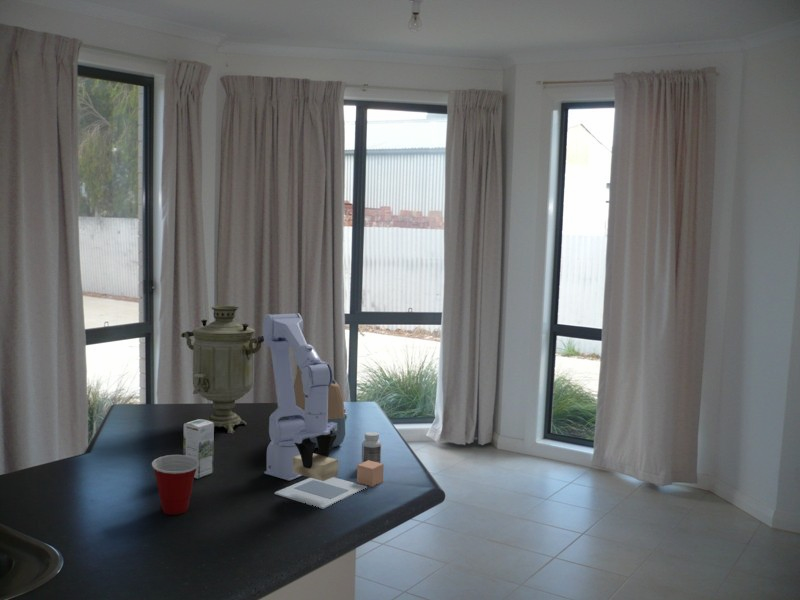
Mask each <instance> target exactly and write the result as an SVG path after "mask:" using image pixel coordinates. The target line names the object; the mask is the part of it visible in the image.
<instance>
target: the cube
mask: <svg viewBox="0 0 800 600" xmlns="http://www.w3.org/2000/svg"><path fill="white" fill-rule="evenodd" d="M356 469H357V471H356V483H357V482H358V483H357V484H360V483H362V484H361V485H363V484H366V485H365V486H367V485H369V486H368V487H371V486H373V487H375V486H377V485H379V484H381V483H383V482H384V463H378V462H374V461H370V460H368V461H365V462H363V463H362V462H361V463H359V464H357V467H356ZM376 484H377V485H376ZM374 485H375V486H374Z"/></svg>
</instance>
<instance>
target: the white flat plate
mask: <svg viewBox="0 0 800 600" xmlns="http://www.w3.org/2000/svg"><path fill="white" fill-rule="evenodd" d="M365 488H366V489H368V486H367V485H363V484H360V483H357V482H352V481H348V480H346V479H342V478H338V477H336V476H334V477H332V478H330V479H328V480H325V481H321V480H317V479H314V478H310V477H307V478H306V479H304V480H301V481H299V482H296V483H294V484H292V485H289V486H287V487H284V488H282V489H278V490H277V491H275V492H274V495H276V496H280V497H283V498H286V499H290V500H292V501H295V502H300V503H303V504H305V503H306V505H309V506H312V505H313V506H312V507H315V506H316V507H315V508H318V507H319V509H322V510H324V509H326V508H328V507H330V506H332V504H333V505H334V503H335V504H336V502H337V503H338V501H339V502H341V501H343V500H345V499H347V498H349V497H351V496H353V494H354V495H355V493H356V494H357V492H358V493H359V491H360V492H362V491H364V490H366V489H365ZM363 489H364V490H363ZM361 490H362V491H361ZM340 500H341V501H340Z"/></svg>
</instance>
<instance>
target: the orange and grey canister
mask: <svg viewBox="0 0 800 600" xmlns="http://www.w3.org/2000/svg"><path fill="white" fill-rule="evenodd" d="M301 374H302V372H301V370H300V368H299V367H298V370H297V373H296V377H295V379H294V382H293V386H294V394H295V401H296V406H297V407H299V408H300V409H302V410H303V411H305V394H304V393H303V383H302V379H301ZM290 418H295V417H288V419H290ZM330 422H333V423H337V431H332V433H335V434H336V439H335V441H334V442H333V444H332V447H331V449H333V448H336V447H338V446H340V445H342V444H343V442H344V440H345V437H346V416H345V405H344V395H343V392H342V390H341V387H340V385H339V384H338V381H336V380H335V379H334V378H333V380H332V384H331V385H330V386H328V422H327V423H330ZM310 440H311V442H314V443H316V446H315V448H318V443H317V438H316V437H313V438H311V439H310Z"/></svg>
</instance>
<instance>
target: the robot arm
mask: <svg viewBox="0 0 800 600" xmlns="http://www.w3.org/2000/svg"><path fill="white" fill-rule="evenodd" d="M262 321H263V322H262V334H263V335H262V336H264V341H263V342H264V345H265V347H268V348H270V355H271V360H272V361H271V362H272V369H273V377H274V387H275V394H276V401H277V403H276V404H277V408H276V409H275V410H274V411H273V412H272V413H271V414H270V416H269V418H268V420H269V422H268V423H269V424H268V433H269V438H270V440H271V441H270V442H269V443H268V446H267V447H266V471H265V470H264V474H265V475H268V476H272V477H276V478H279V479H283V480H286V481H290V482H291V481H292V480H295V479H297V478H300V477H303V475H300V474H297V473H293V457H295V456H298V455H301V459H302V463H303V467H305V468H309V469H310V468H311V466H312V459H313V453H314V451H315V449H314V448H315V446H316V443H314V442H311V440H310V439H311V438H313V437H316V438H317V443H318V449H317V454H318V455H322V456H326V457H329V455H330V453H331V449H332V448H331V447H332V444H333V442H334V441H335V439H336V434H335V433H332V431H337V423H333V422H330V423H327V422H328V386H330V385H331V384H332V380H333V379H334V374H333V370H332V366H331V364H330V363H328V362H326V361H324V360H322V359H321V358H320V356H319V354H318V352H317V351H316V349H315V347H314V346H313V345H311V344H308V343H307V340H306V338H305V336H304V334H303V330H304V321H303V317H302V315H301V314H300V313H299V312H295V313H281V314H280V313H279V314H275V313H274V314H270V313H267V314H266V315H265V316H264V318H263V320H262ZM290 348H292V350H293V351H294V352H293V359H294V361H295V363H296V364H297V366H298V369H299V368H300V370H301V372H302V374H301V379H302V383H303V393H304V394H305V411H303V410H302V409H300V408H299V407H297V406H296V401H295V394H294V380H293V373H292V364H291V356H290ZM289 417H295V418H290V419H289Z"/></svg>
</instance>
